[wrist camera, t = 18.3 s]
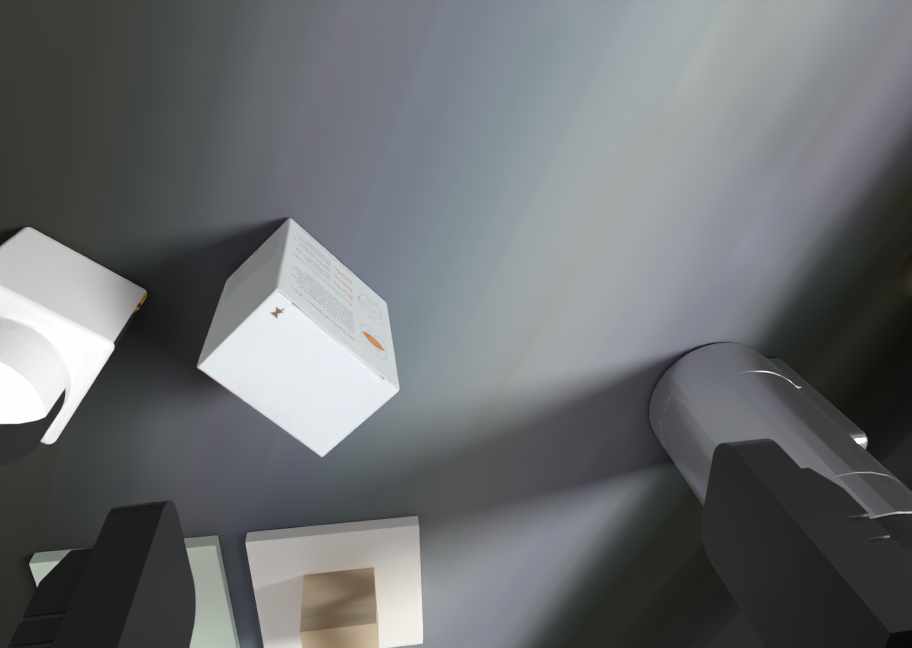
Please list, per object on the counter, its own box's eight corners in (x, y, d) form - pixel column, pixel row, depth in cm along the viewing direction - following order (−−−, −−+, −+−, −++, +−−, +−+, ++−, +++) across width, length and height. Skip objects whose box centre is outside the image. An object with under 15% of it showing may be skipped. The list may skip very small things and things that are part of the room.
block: (373, 567, 51) (376, 623, 47) (377, 616, 53) (380, 674, 49) (303, 574, 51) (299, 632, 46) (310, 624, 53) (307, 683, 48)
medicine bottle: (94, 379, 43) (10, 512, 32) (-28, 321, 40) (-163, 444, 30) (151, 290, 41) (82, 400, 30) (27, 222, 38) (-97, 316, 28)
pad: (417, 515, 51) (419, 525, 50) (421, 632, 56) (423, 643, 55) (247, 532, 49) (245, 542, 49) (267, 651, 55) (266, 662, 54)
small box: (225, 278, 41) (189, 366, 32) (290, 213, 40) (274, 284, 31) (326, 361, 45) (321, 463, 35) (389, 303, 43) (401, 392, 34)
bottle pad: (217, 535, 49) (215, 545, 48) (241, 654, 55) (239, 665, 54) (34, 552, 48) (28, 563, 47) (77, 673, 53) (72, 685, 52)
